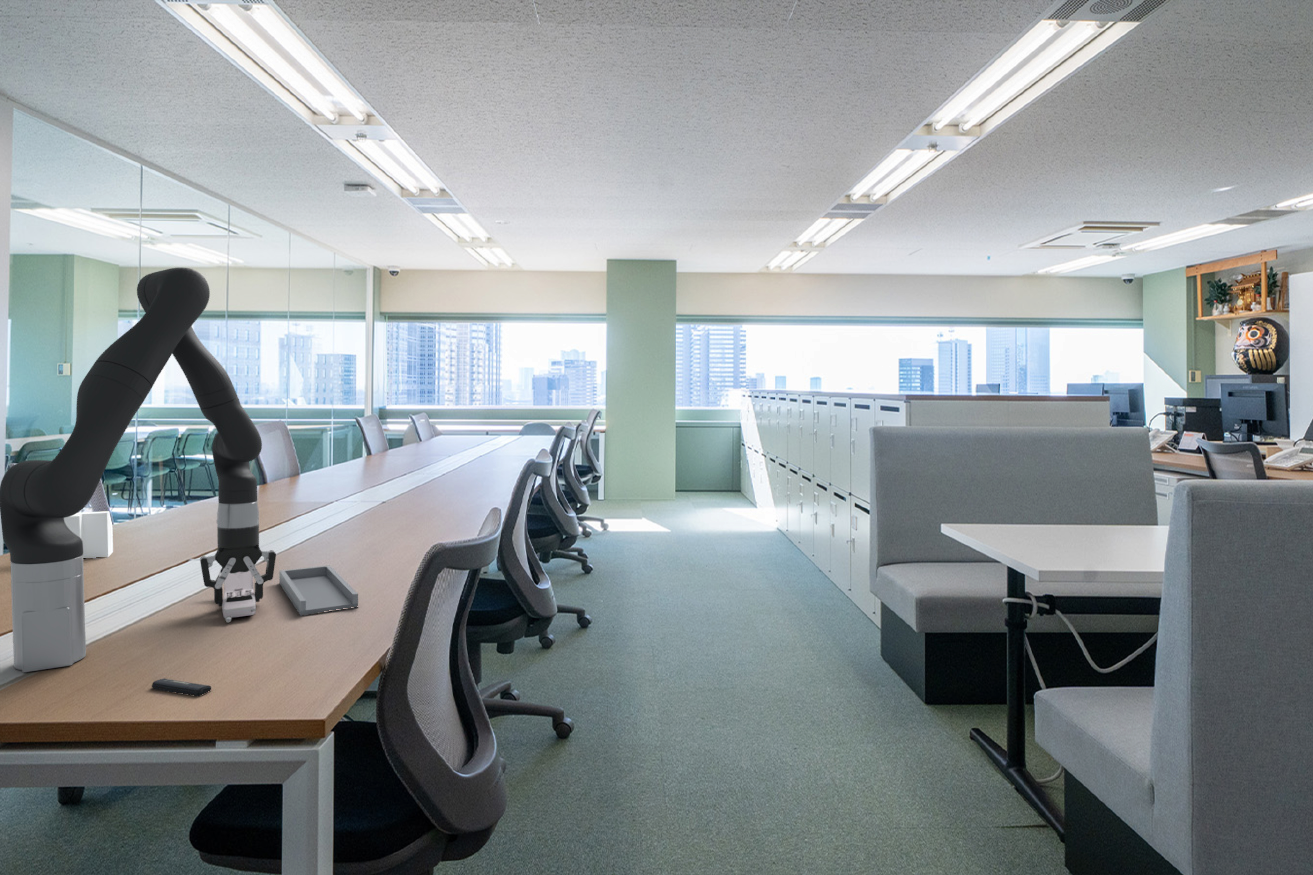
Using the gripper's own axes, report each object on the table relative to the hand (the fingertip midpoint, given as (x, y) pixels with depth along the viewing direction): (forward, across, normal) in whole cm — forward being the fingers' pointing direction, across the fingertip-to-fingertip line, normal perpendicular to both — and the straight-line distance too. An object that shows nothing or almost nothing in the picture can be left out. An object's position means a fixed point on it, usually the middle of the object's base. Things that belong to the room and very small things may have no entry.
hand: (239, 602), depth 154 cm
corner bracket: (+1, -30, +72) cm, 78 cm away
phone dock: (+1, +15, +2) cm, 15 cm away
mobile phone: (+1, 0, 0) cm, 1 cm away
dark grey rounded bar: (+2, -11, -44) cm, 45 cm away
